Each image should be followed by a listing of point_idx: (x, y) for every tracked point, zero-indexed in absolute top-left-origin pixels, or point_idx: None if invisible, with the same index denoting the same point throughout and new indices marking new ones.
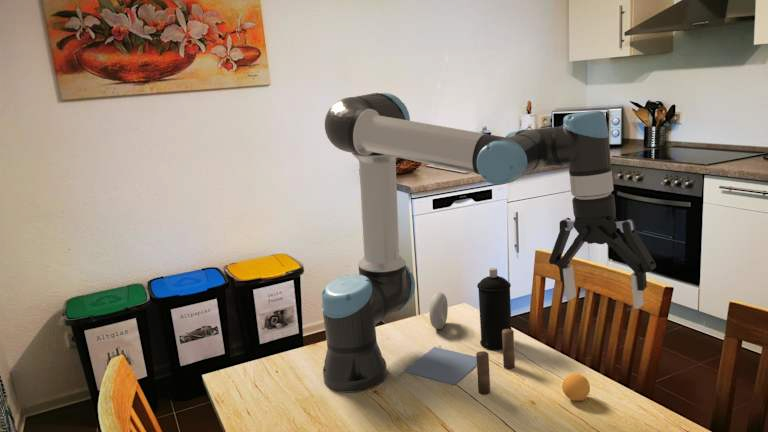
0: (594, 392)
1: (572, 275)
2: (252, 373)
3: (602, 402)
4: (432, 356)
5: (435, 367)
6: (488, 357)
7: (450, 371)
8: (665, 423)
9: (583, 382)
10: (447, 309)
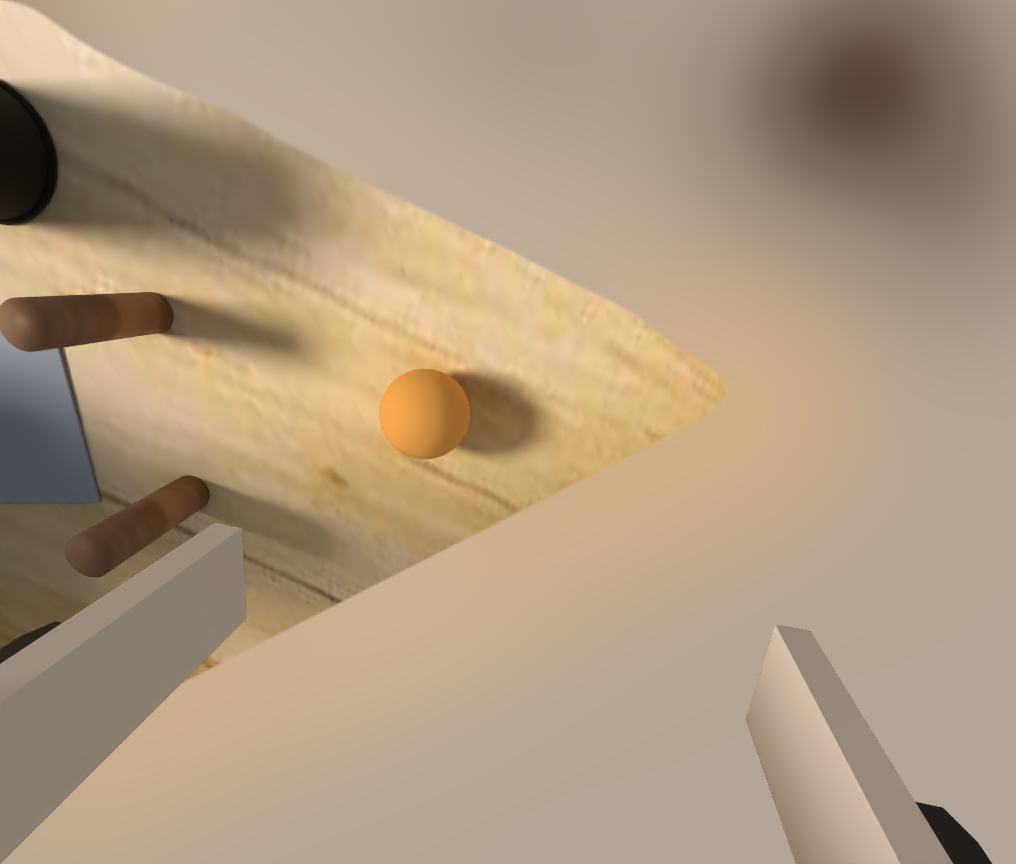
0: (467, 338)
1: (77, 674)
2: None
3: (509, 384)
4: None
5: None
6: (118, 544)
7: (29, 439)
8: (701, 408)
9: (450, 433)
10: None
